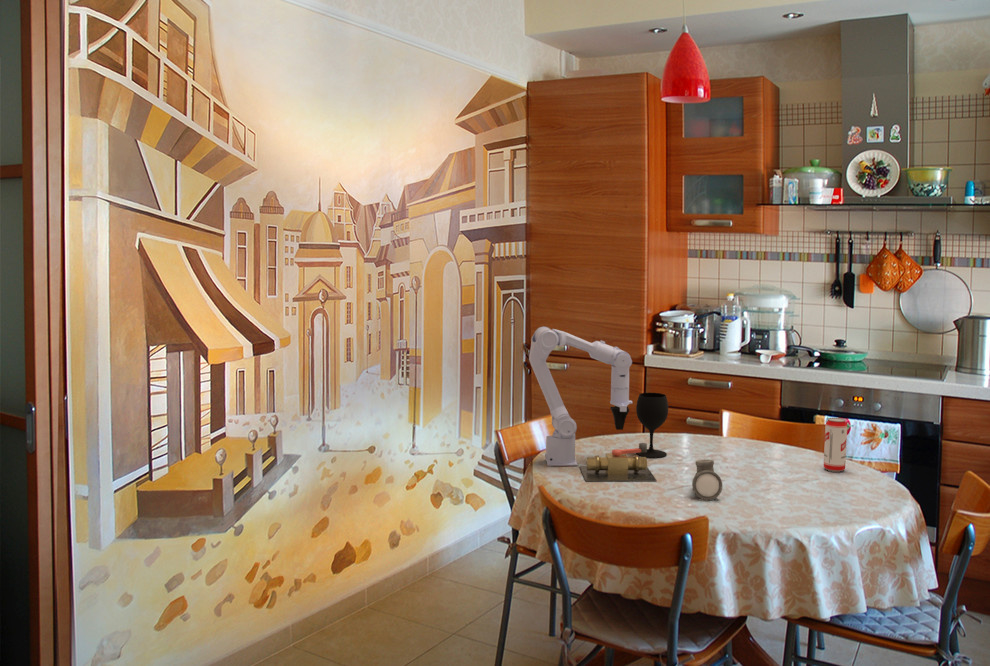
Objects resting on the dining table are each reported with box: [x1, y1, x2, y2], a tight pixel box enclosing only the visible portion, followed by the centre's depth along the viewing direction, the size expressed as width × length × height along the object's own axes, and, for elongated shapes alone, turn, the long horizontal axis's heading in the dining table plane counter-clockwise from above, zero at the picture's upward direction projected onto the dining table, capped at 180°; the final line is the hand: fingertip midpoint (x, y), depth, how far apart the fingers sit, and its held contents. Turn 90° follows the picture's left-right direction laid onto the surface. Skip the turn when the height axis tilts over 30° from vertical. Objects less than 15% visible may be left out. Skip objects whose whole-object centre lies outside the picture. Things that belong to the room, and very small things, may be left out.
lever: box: [611, 442, 648, 456], centre depth 262 cm, size 12×3×2 cm, turn 109°
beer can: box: [823, 417, 848, 473], centre depth 263 cm, size 6×6×16 cm
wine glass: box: [634, 392, 669, 459], centre depth 282 cm, size 10×10×20 cm
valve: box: [579, 452, 658, 483], centre depth 260 cm, size 21×16×6 cm
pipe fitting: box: [691, 459, 723, 501], centre depth 240 cm, size 12×8×10 cm
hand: (619, 429), depth 274 cm, fingers closed
